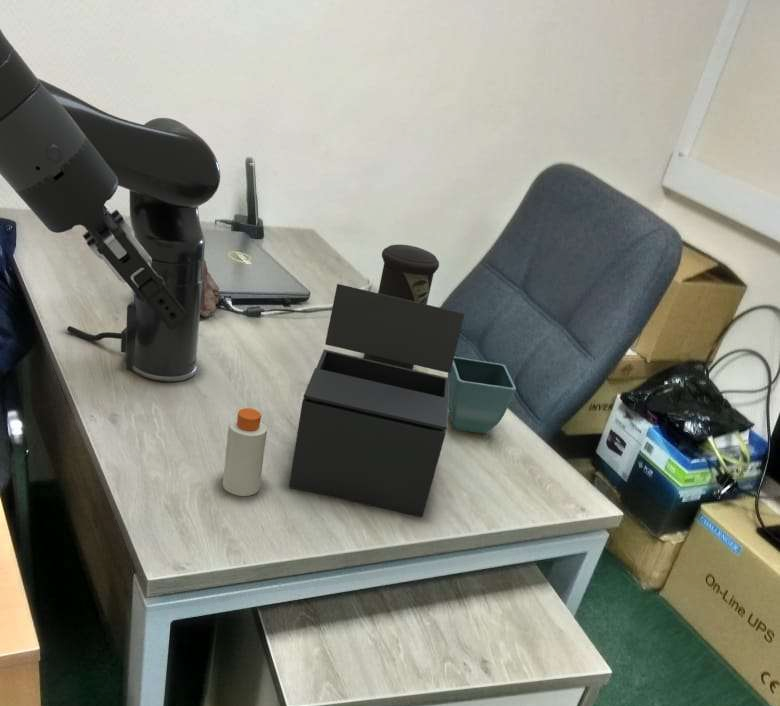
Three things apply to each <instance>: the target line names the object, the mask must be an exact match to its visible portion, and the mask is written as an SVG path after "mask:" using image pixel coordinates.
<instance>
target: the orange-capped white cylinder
mask: <svg viewBox="0 0 780 706" xmlns="http://www.w3.org/2000/svg"><path fill="white" fill-rule="evenodd" d="M261 417H262V414H261V412H260V411H258V410H256V409H254V408H248V407H246V408H240V409H239V410H238V412H237V416H236V417H234V418H232V419H230V421H229V423H228V429H227V439H226V447H225V448H226V449H225V455H224V457H225V459H224V466H223V467H224V468H223V475H222V476H223V477H222V487H223V489H224V490H225V491H226V492H228V493H229V494H231V495H234V496H238V497H249V496H252V495H253V496H254V495H255V494H257V493H258V491H259V490H260V487H261V479H262V471H263V464H264V456H265V449H266V441H267V434H268V427H267V424H266V423H265V422H264V421H262V420H261V419H262V418H261Z"/></svg>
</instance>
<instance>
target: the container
mask: <svg viewBox="0 0 780 706" xmlns="http://www.w3.org/2000/svg"><path fill="white" fill-rule="evenodd" d="M381 258H382V261H383V267H382V272H381V277H380V282H379V286H378V290H377V293H379V294H383V295H388V296H392V297H396V298H401V299H405V300H409V301H414V302H418V303H422V304H426V305H428V300H429V296H430V292H431V287H432V284H433V280H434V279H433V278H434V274H435V273H436V272H437V271H438V270H439V267H440V261H439V259H438V258H437V256H436V255H435V254H433V253H432V252H430V251H429V250H426V249H423V248H421V247H418V246H415V245H408V244H391V245H388V246H387V247H385V248H383V250H382V252H381ZM363 358H364V359H368V360H373V361H377V362H381V363H386V364H390V365H394V366H399V367H403V368H407V369H412V370H414V366H415V365H412V364H408V363H403V362H399V361H395V360H390V359H386V358H382V357H377V356H373V355H369V354H364V353H363Z"/></svg>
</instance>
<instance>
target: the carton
mask: <svg viewBox="0 0 780 706" xmlns="http://www.w3.org/2000/svg"><path fill="white" fill-rule="evenodd" d="M447 377H448V376H441V375H437V374H433V373H428V372H424V371H420V370H415V369H413V370H412V369H407V368H403V367H399V366H394V365H390V364H386V363H381V362H377V361H373V360H368V359H364V357H359V356H354V355H351V354H346V353H341V352H337V351H333V350H328V349H323V351H322V353H321V355H320V357H319V360H318V363H317V365H316V367H315V368H314V369H313V372H312V375H311V377H310V379H309V382H308V384H307V387H306V388H305V391H304V394H303V399H302V400H301V401H302V402H301V408H300V412H299V413H300V414H299V419H298V426H297V433H296V440H295V445H294V451H293V459H292V465H291V470H290V477H289V483H288V488H290V489H295V490H300V491H305V492H308V493H312V494H318V495H322V496H327V497H331V498H336V499H340V500H344V501H350V502H352V503H353V502H354V503H359V504H363V505H367V506H372V507H376V508H381V509H386V510H389V511H394V512H399V513H403V514H408V515H411V516H412V515H413V516H417V517H421V518H422V517H423V516H424V513H425V509H426V506H427V502H428V498H429V496H430V495H429V494H430V492H431V489H432V484H433V481H434V478H435V474H436V470H437V466H438V462H439V459H440V455H441V452H442V448H443V445H444V441H445V437H446V433H447V428H448V414H449V409H448V401H449V399H448V389H449V378H447Z"/></svg>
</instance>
